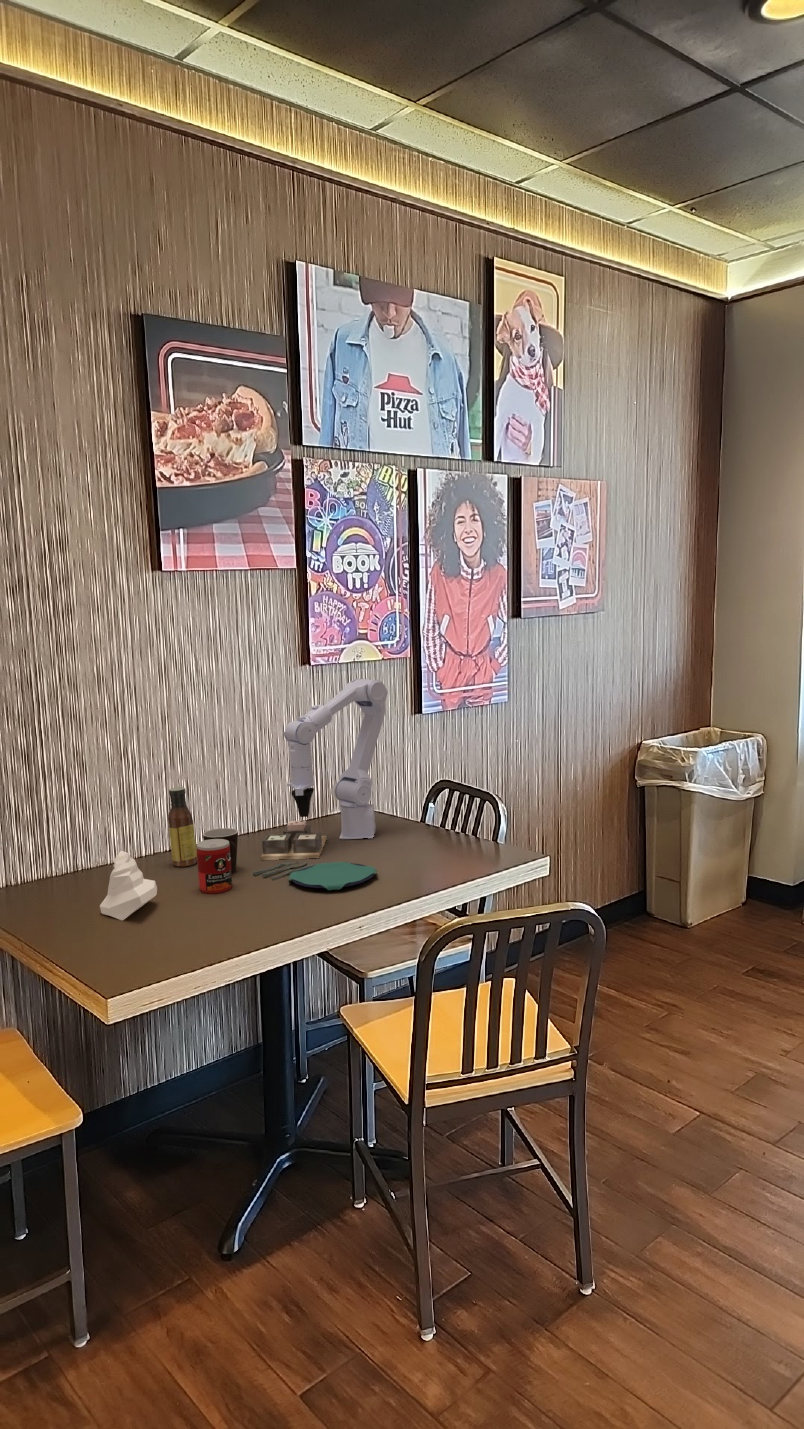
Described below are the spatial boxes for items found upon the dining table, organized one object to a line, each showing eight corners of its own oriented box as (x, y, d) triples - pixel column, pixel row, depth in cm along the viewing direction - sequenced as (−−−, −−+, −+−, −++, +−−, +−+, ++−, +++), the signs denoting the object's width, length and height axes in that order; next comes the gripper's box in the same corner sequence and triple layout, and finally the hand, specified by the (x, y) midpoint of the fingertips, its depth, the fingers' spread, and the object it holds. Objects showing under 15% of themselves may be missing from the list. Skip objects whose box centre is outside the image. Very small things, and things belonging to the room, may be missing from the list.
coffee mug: (205, 868, 242) (203, 829, 241) (240, 865, 244) (237, 826, 242) (204, 882, 231) (202, 841, 229) (241, 878, 232) (238, 838, 231)
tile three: (306, 830, 263) (305, 820, 263) (304, 834, 259) (303, 824, 258) (290, 831, 263) (289, 820, 263) (287, 835, 259) (287, 824, 258)
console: (327, 839, 265) (326, 823, 265) (318, 858, 247) (317, 841, 246) (273, 840, 266) (272, 824, 265) (260, 860, 247) (259, 843, 247)
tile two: (287, 845, 254) (286, 834, 254) (284, 850, 250) (283, 839, 250) (270, 846, 255) (270, 835, 254) (267, 850, 250) (267, 839, 250)
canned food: (207, 896, 220) (203, 849, 218) (194, 887, 226) (190, 842, 225) (238, 889, 224) (235, 843, 223) (224, 881, 231) (221, 836, 229)
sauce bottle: (200, 860, 249) (195, 785, 247) (193, 867, 243) (187, 790, 240) (176, 860, 250) (170, 786, 247) (168, 867, 244) (162, 791, 241)
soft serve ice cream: (92, 930, 205) (73, 866, 205) (122, 912, 220) (104, 852, 220) (145, 915, 203) (126, 851, 203) (172, 898, 218) (154, 838, 218)
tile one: (317, 844, 254) (316, 834, 254) (315, 849, 250) (314, 838, 249) (300, 845, 254) (300, 834, 254) (298, 849, 250) (297, 838, 250)
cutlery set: (334, 899, 214) (334, 889, 214) (245, 880, 233) (244, 870, 233) (392, 877, 229) (391, 868, 229) (303, 860, 248) (303, 852, 248)
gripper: (289, 761, 261) (292, 810, 263) (282, 772, 247) (285, 823, 248) (315, 760, 261) (318, 809, 263) (309, 771, 246) (312, 822, 248)
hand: (304, 816), depth 255 cm, fingers closed
